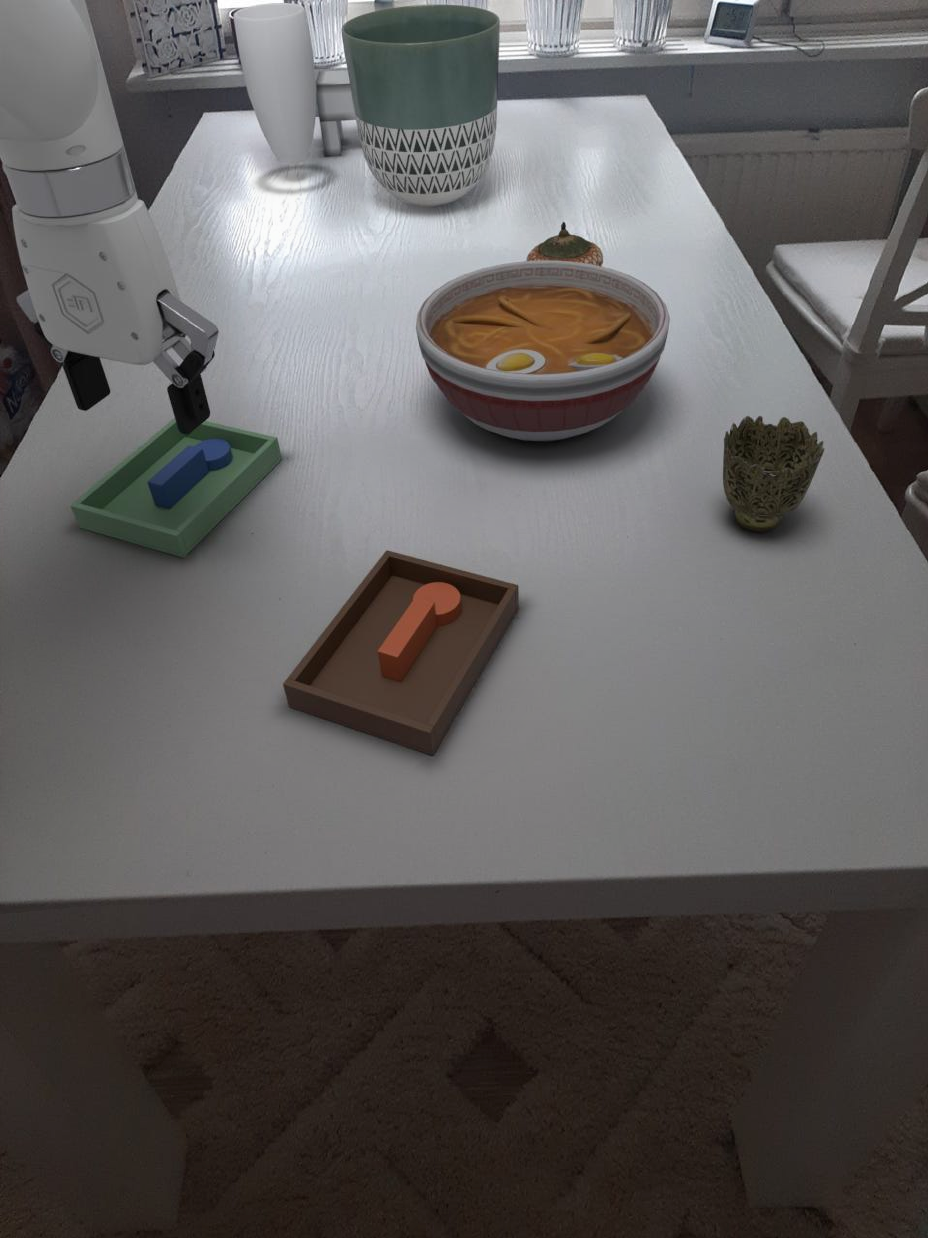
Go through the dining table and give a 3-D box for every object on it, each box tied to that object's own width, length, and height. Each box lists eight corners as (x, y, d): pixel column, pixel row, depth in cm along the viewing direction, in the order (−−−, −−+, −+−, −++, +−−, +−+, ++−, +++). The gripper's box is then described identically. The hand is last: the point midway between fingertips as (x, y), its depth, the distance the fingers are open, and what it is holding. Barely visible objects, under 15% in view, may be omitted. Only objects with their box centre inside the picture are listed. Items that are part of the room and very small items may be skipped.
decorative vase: (804, 500, 79) (825, 419, 74) (802, 556, 74) (824, 473, 69) (714, 489, 81) (728, 409, 75) (706, 543, 76) (720, 460, 70)
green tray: (183, 558, 77) (176, 535, 76) (79, 527, 81) (69, 505, 79) (282, 459, 87) (277, 437, 86) (184, 435, 91) (178, 414, 89)
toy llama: (312, 141, 152) (291, -4, 138) (420, 135, 152) (410, -11, 138) (308, 157, 147) (286, 7, 133) (420, 150, 146) (409, 0, 132)
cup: (332, 164, 144) (310, -1, 129) (330, 189, 136) (305, 16, 121) (265, 169, 144) (234, 4, 128) (258, 194, 136) (225, 22, 121)
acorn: (611, 304, 107) (617, 214, 100) (578, 335, 102) (582, 243, 95) (548, 289, 110) (549, 202, 103) (512, 318, 105) (511, 229, 98)
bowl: (602, 504, 80) (610, 402, 73) (378, 440, 89) (366, 343, 82) (692, 379, 94) (705, 283, 87) (491, 334, 103) (489, 243, 96)
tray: (432, 755, 62) (430, 733, 60) (288, 706, 65) (282, 684, 64) (518, 608, 71) (518, 584, 70) (389, 572, 75) (386, 549, 73)
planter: (336, 217, 128) (312, 38, 113) (399, 168, 141) (384, 1, 126) (469, 234, 122) (462, 47, 107) (522, 181, 135) (522, 7, 120)
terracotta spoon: (413, 686, 66) (410, 661, 64) (368, 672, 67) (364, 647, 65) (468, 600, 72) (467, 574, 70) (426, 588, 73) (424, 563, 71)
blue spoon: (178, 512, 81) (170, 487, 80) (145, 503, 83) (137, 479, 81) (240, 453, 87) (234, 429, 86) (208, 446, 89) (202, 422, 87)
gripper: (-69, 187, 61) (25, 416, 73) (142, 218, 56) (207, 461, 67) (14, 152, 66) (89, 372, 78) (216, 177, 61) (264, 410, 72)
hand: (144, 413), depth 73 cm, fingers open, 9 cm apart
